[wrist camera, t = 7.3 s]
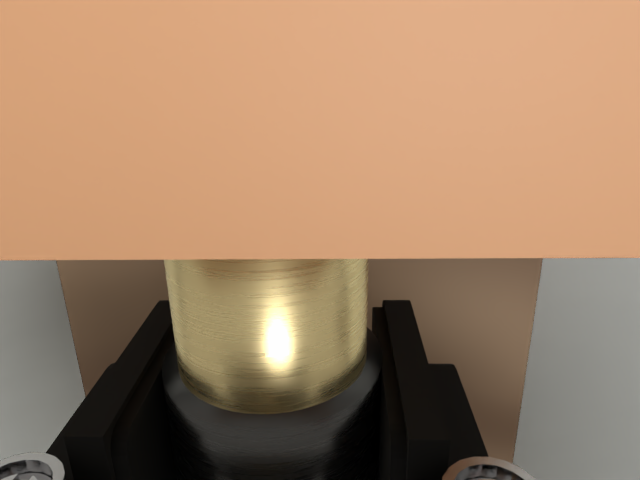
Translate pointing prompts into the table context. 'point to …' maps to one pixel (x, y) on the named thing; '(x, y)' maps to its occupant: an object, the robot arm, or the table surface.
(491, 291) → the rig
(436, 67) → the socket
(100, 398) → the robot arm
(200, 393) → the brass tube
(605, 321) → the table surface
